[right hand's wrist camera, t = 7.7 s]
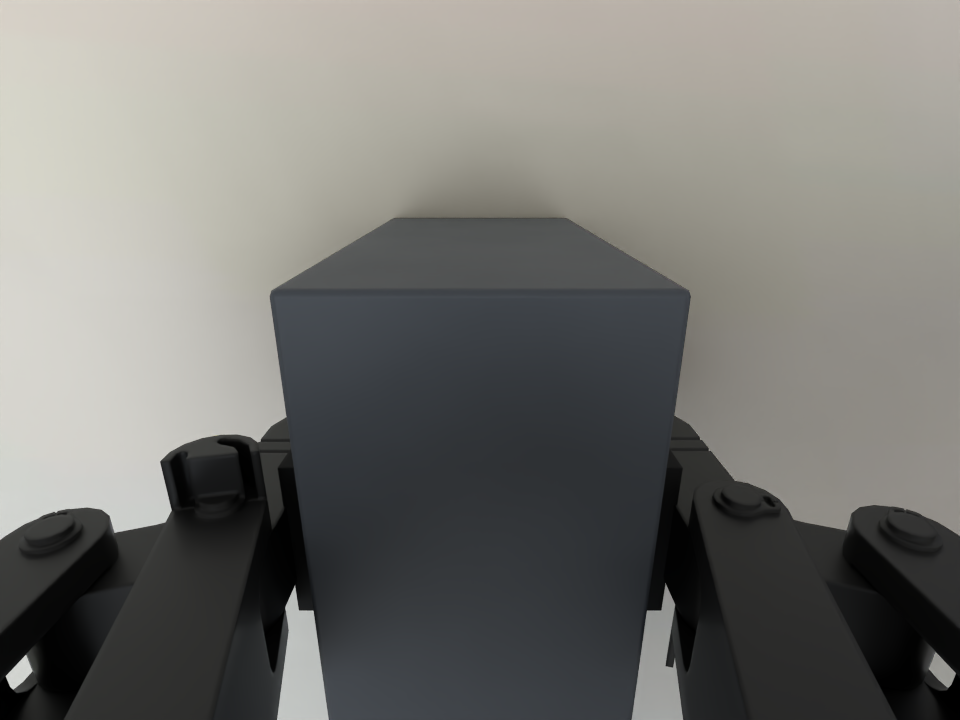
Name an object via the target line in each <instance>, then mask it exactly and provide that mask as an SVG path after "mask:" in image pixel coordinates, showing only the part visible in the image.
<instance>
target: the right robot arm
mask: <svg viewBox="0 0 960 720" xmlns="http://www.w3.org/2000/svg"><path fill="white" fill-rule="evenodd" d="M708 449H709V448H708V447H707V446H706V445H705V443H704V442H703V441H702V440H700V437H699V436H698V435H697V434H696V432H695V431H694V430H693V429H692V427H691V426H690V425H689V424H687V423H686V422H684V421H682V420H681V419H679V418H677V417H676V416H674V419H673V426H672V434H671V441H670V448H669V455H668V462H667V469H666V477H665V484H664V491H663V498H662V505H661V512H660V519H659V527H658V534H657V541H656V548H655V555H654V562H653V569H652V577H651V584H650V591H649V598H648V605H647V610H661V609H662V602H663V595H664V589H665V582H666V585H667V587H668V589H669V591H670V594H671V596H672V598H673V600H674V603H675V610H674V616H673V622H672V628H671V635H670V641H669V647H668V653H667V660H666V666H668V667H673V664H674V659H675V660H676V668H677V676H678V683H679V691H680V698H681V706H682V714H683V720H960V536H958V535H957V534H956V533H954V532H952V531H951V530H949V529H948V528H946V527H944V526H943V525H941V524H939V523H938V522H936V521H933V520H931V519H929V518H926V517H924V516H922V515H921V514H919V513H917V512H913V511H910V510H907V509H906V510H904V509H903V508H898V507H887V506H877V505H872V506H866V507H859V508H858V509H857V510H856V511H854V512H853V513H852V514H851V518H850V521H849V525H848V528H847V531H846V530H840V529H835V528H830V527H825V526H819V525H814V524H809V523H804V522H800V521H796V520H793V518H792V516H791V514H790V512H789V510H788V509H787V508H786V507H785V505H784V504H783V503H782V502H781V501H780V500H779V499H778V498H776V497H775V496H773V495H772V494H770V493H769V492H767V491H766V490H763V489H761V488H758V487H756V486H753V485H751V484H748V483H743V482H738V481H735V480H734V479H733V478H732V477H731V475H730V474H729V473H728V472H727V471H726V469H725V468H724V467H723V466H722V464H721V463H720V462H719V461H718V459H717V458H716V457H715V456H714V455H713V453H712V452H711V451H709V450H708ZM160 463H161V467H162V471H163V475H164V480H165V484H166V488H167V492H168V496H169V500H170V505H171V509H172V511H171V513H170V515H169V517H168V519H167V521H166V523H162V524H158V525H154V526H148V527H143V528H138V529H133V530H128V531H122V532H117V533H114V530H113V527H112V523H111V520H110V516H109V515H108V514H106V513H105V512H104V511H102V510H99V509H93V508H79V509H66V510H61V511H58V512H57V513H55V512H53V513H50V514H46V515H44V516H42V517H40V518H39V519H36V520H34V521H32V522H29V523H27V524H25V525H23V526H21V527H20V528H18V529H16V530H15V531H13V532H12V533H10V534H8V535H7V536H5V537H4V538H3V539H1V540H0V720H277V715H278V707H279V700H280V692H281V684H282V677H283V669H284V661H285V654H286V646H287V639H288V631H289V630H288V623H287V616H286V610H285V606H286V604H287V602H288V599H289V597H290V595H291V593H292V590H293V588H294V586H295V587H296V593H297V600H298V606H299V610H314V609H313V602H312V595H311V588H310V580H309V573H308V566H307V559H306V552H305V545H304V537H303V530H302V523H301V516H300V509H299V502H298V494H297V487H296V480H295V473H294V466H293V459H292V451H291V444H290V437H289V430H288V423H287V417H286V418H285V419H283V420H281V421H280V422H278V423H276V424H275V425H273V426H271V427H270V429H269V430H268V431H267V432H266V434H265V435H264V436H263V437H262V439H261V442H258V443H257V442H256V441H255V440H253V439H252V438H251V437H246V436H241V435H218V436H212V437H207V438H202V439H199V440H196V441H193V442H190V443H187V444H184V445H182V446H180V447H179V448H177V449H175V450H173V451H171V452H170V453H169V454H168V455H166V456H165V457H164V458H163V459H162V460H161V461H160ZM935 651H936V653H937V654H938V655H939V656H940V657H941V658H942V659H943V660H944V661H945V662H946V663H947V664H948V665H949V666H950V667H951V668H952V669H953V670H954V671H955V672H956V675H955V678H954V680H953V682H952V685H951V686H950V687H949V688H947V687H946V686H945V685H944V684H942V683H941V682H940V681H939V680H938V679H937V678H936V677H935V676H934V675H933V674H932V672H931V671H930V670H929V667H930V664H931V662H932V659H933V657H934V654H935ZM25 655H27V658H28V660H29V663H30V665H31V668H32V670H33V672H32V673H31V674H30V675H29V676H28V677H27V678H26V679H25V681H24V682H23V683H21V684H20V685H19V686H18V687H16V688H15V689H14V690H13V689H12V688H10V686H9V683H8V681H7V679H6V675H7V674H8V673H9V672H10V671H11V670H12V669H13V668H14V667H15V665H16V664H17V663H18V662H19V661H20V660H21V659H22V658H23V657H24V656H25Z"/></svg>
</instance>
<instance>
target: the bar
mask: <svg viewBox="0 0 960 720" xmlns="http://www.w3.org/2000/svg"><path fill="white" fill-rule="evenodd" d="M690 298H691V296H690V292H689V290H687V289H685V288H684V287H682V286H680V285H679V284H677V283H675V282H673V281H672V280H670V279H668V278H667V277H665V276H663V275H662V274H660V273H658V272H657V271H655V270H653V269H651V268H650V267H648V266H646V265H645V264H643V263H641V262H640V261H638V260H636V259H635V258H633V257H631V256H629V255H628V254H626V253H624V252H623V251H621V250H619V249H618V248H616V247H614V246H613V245H611V244H609V243H607V242H606V241H604V240H602V239H601V238H599V237H597V236H596V235H594V234H592V233H591V232H589V231H587V230H585V229H584V228H582V227H580V226H579V225H577V224H575V223H574V222H572V221H570V220H569V219H566V218H394V219H392V220H390V221H388V222H387V223H385V224H383V225H382V226H380V227H378V228H377V229H375V230H373V231H372V232H370V233H368V234H366V235H365V236H363V237H361V238H360V239H358V240H356V241H355V242H353V243H351V244H350V245H348V246H346V247H345V248H343V249H341V250H339V251H338V252H336V253H334V254H333V255H331V256H329V257H328V258H326V259H324V260H323V261H321V262H319V263H317V264H316V265H314V266H312V267H311V268H309V269H307V270H306V271H304V272H302V273H301V274H299V275H297V276H296V277H294V278H292V279H290V280H289V281H287V282H285V283H284V284H282V285H280V286H279V287H277V288H275V289H274V290H272V291H271V294H270V301H271V308H272V315H273V322H274V330H275V337H276V344H277V351H278V358H279V365H280V373H281V380H282V387H283V394H284V401H285V408H286V416H287V423H288V430H289V437H290V444H291V451H292V459H293V466H294V473H295V480H296V487H297V494H298V502H299V509H300V516H301V523H302V530H303V537H304V545H305V552H306V559H307V566H308V573H309V580H310V588H311V595H312V602H313V609H314V616H315V623H316V631H317V638H318V645H319V652H320V659H321V666H322V674H323V681H324V688H325V695H326V702H327V709H328V717H329V720H632V712H633V705H634V698H635V691H636V684H637V677H638V669H639V662H640V655H641V648H642V641H643V634H644V627H645V619H646V612H647V605H648V598H649V591H650V584H651V577H652V569H653V562H654V555H655V548H656V541H657V534H658V527H659V519H660V512H661V505H662V498H663V491H664V484H665V477H666V469H667V462H668V455H669V448H670V441H671V434H672V426H673V419H674V412H675V405H676V398H677V391H678V384H679V376H680V369H681V362H682V355H683V348H684V341H685V334H686V326H687V319H688V312H689V305H690Z"/></svg>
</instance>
